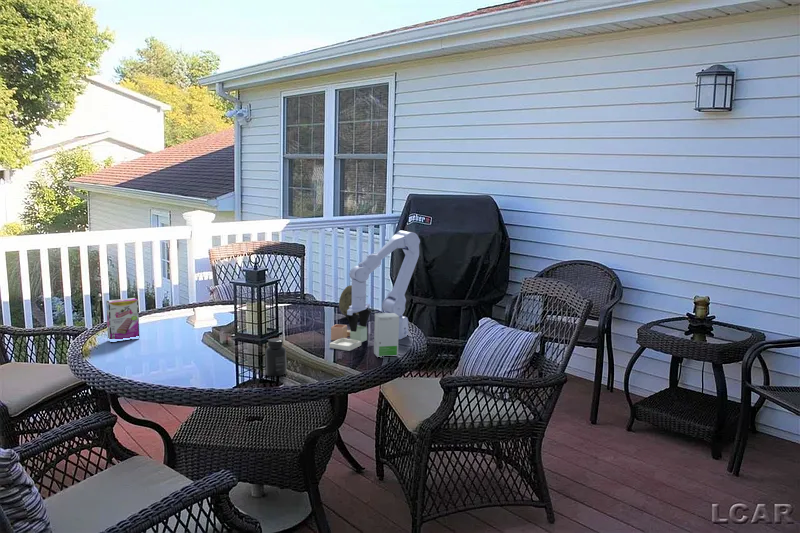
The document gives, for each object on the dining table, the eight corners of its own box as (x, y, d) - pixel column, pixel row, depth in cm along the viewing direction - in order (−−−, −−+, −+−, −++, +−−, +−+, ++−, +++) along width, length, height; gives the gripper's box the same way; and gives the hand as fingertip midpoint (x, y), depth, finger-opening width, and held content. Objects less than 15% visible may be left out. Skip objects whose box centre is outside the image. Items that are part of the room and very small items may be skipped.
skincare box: (377, 358, 241) (377, 317, 239) (373, 353, 248) (373, 313, 245) (399, 356, 244) (399, 316, 241) (394, 351, 250) (395, 312, 247)
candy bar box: (110, 343, 255) (108, 302, 252) (107, 340, 259) (105, 300, 256) (140, 339, 261) (138, 299, 259) (137, 336, 265) (135, 297, 263)
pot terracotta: (347, 338, 268) (347, 325, 267) (342, 341, 263) (342, 328, 262) (335, 337, 269) (335, 324, 269) (331, 340, 265) (331, 327, 264)
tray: (361, 345, 258) (361, 340, 257) (349, 351, 250) (349, 346, 250) (341, 342, 262) (341, 337, 261) (329, 347, 254) (329, 343, 254)
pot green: (367, 340, 266) (367, 326, 265) (360, 343, 261) (360, 329, 260) (356, 338, 268) (356, 325, 267) (350, 341, 264) (350, 328, 263)
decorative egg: (346, 313, 310) (346, 282, 308) (366, 316, 305) (366, 284, 303) (334, 318, 301) (334, 286, 298) (355, 321, 296) (355, 288, 294)
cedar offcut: (360, 335, 273) (360, 331, 273) (358, 337, 270) (358, 333, 270) (347, 334, 274) (347, 330, 274) (344, 336, 271) (344, 331, 271)
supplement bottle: (287, 370, 225) (287, 337, 223) (284, 377, 219) (284, 342, 217) (267, 370, 225) (267, 337, 223) (264, 377, 218) (263, 342, 216)
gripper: (359, 292, 270) (358, 324, 272) (340, 298, 257) (340, 331, 259) (374, 293, 267) (373, 326, 269) (356, 300, 254) (355, 334, 256)
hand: (358, 329), depth 264 cm, fingers open, 7 cm apart
